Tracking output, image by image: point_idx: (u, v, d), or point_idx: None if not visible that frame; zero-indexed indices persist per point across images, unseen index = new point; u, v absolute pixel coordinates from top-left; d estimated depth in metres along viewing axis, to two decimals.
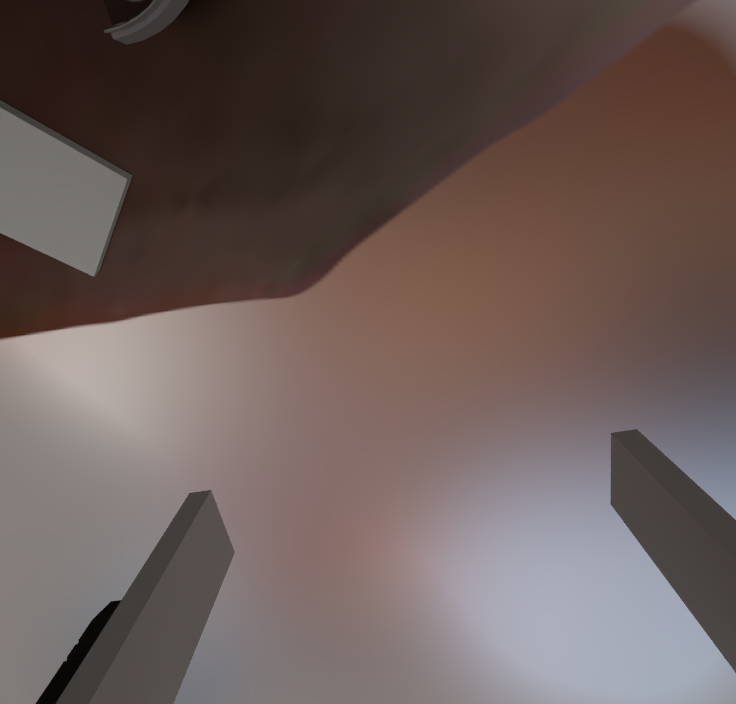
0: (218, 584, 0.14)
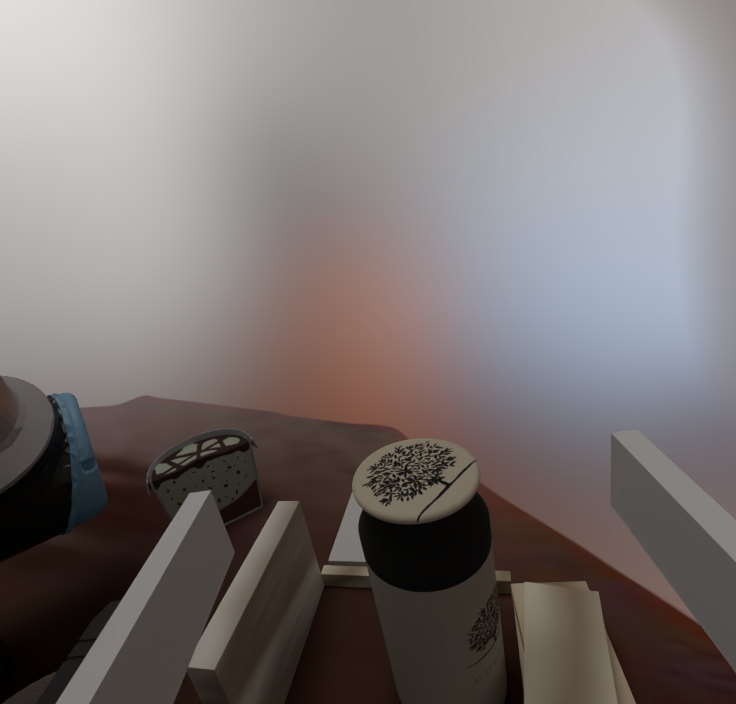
0: (218, 584, 0.14)
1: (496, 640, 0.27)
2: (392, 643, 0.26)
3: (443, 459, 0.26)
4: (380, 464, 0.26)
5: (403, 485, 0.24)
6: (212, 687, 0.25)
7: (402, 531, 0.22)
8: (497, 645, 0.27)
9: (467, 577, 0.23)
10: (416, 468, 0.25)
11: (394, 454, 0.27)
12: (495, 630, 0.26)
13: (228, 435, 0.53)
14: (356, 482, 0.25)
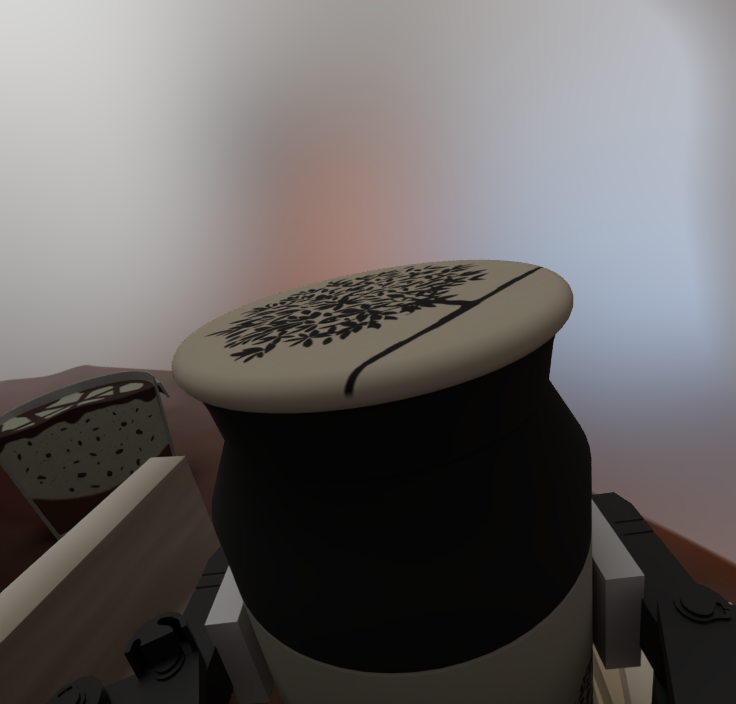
0: None
1: None
2: None
3: (451, 276, 0.09)
4: (281, 303, 0.10)
5: (324, 320, 0.08)
6: None
7: (301, 450, 0.06)
8: None
9: (539, 617, 0.07)
10: (373, 295, 0.09)
11: (323, 288, 0.11)
12: None
13: (131, 380, 0.36)
14: (197, 333, 0.09)
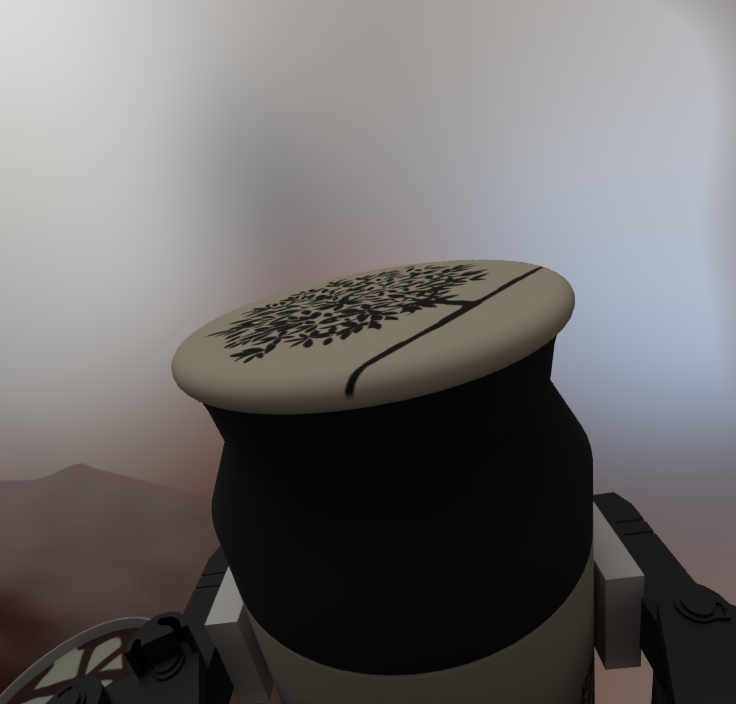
0: None
1: None
2: None
3: (451, 276, 0.09)
4: (281, 303, 0.10)
5: (325, 321, 0.08)
6: None
7: (301, 451, 0.06)
8: None
9: (540, 619, 0.07)
10: (373, 295, 0.09)
11: (323, 288, 0.11)
12: None
13: None
14: (197, 333, 0.09)
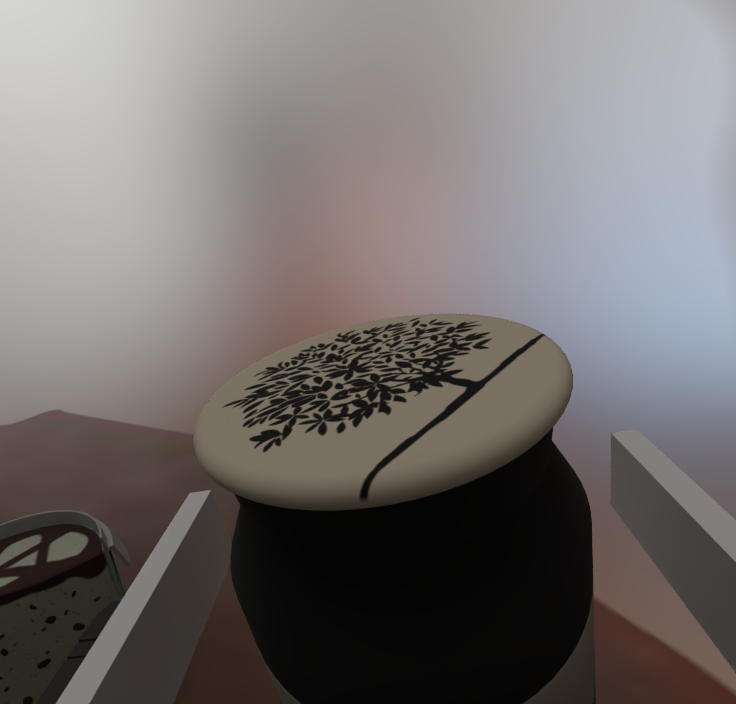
0: (218, 584, 0.14)
1: None
2: None
3: (456, 339, 0.10)
4: (292, 362, 0.10)
5: (336, 395, 0.08)
6: None
7: (318, 536, 0.06)
8: None
9: (542, 682, 0.07)
10: (381, 361, 0.09)
11: (333, 344, 0.11)
12: None
13: (71, 525, 0.23)
14: (214, 400, 0.09)
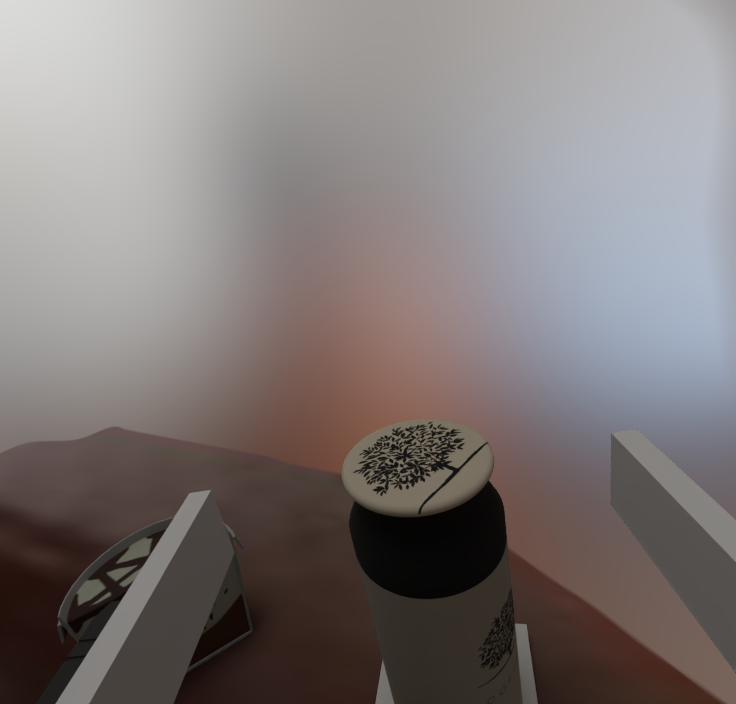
0: (218, 584, 0.14)
1: (511, 654, 0.23)
2: (389, 658, 0.23)
3: (449, 441, 0.22)
4: (375, 448, 0.22)
5: (402, 470, 0.20)
6: None
7: (400, 525, 0.19)
8: (512, 660, 0.23)
9: (479, 581, 0.19)
10: (417, 452, 0.21)
11: (391, 437, 0.23)
12: (510, 643, 0.22)
13: None
14: (346, 468, 0.21)
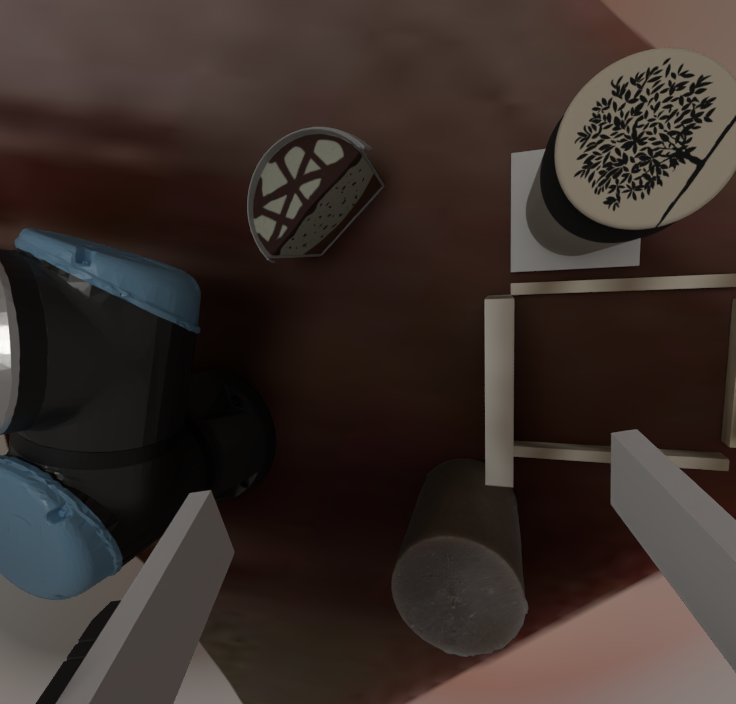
0: (218, 584, 0.14)
1: None
2: (552, 238, 0.30)
3: (695, 105, 0.18)
4: (593, 127, 0.19)
5: (633, 169, 0.19)
6: None
7: None
8: None
9: None
10: (651, 131, 0.19)
11: (612, 100, 0.19)
12: None
13: (314, 135, 0.33)
14: (564, 169, 0.20)
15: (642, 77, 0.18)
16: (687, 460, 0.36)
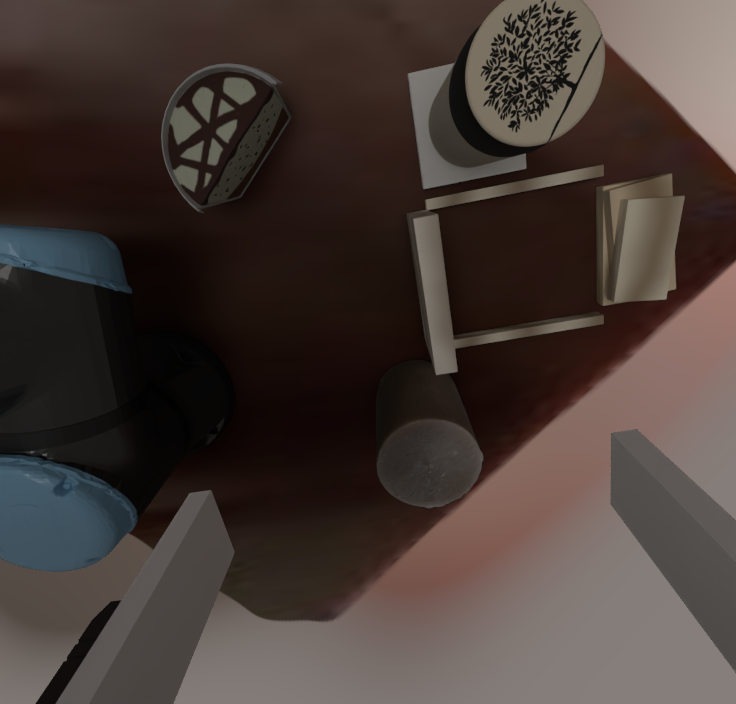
0: (218, 584, 0.14)
1: None
2: (460, 155, 0.34)
3: (566, 37, 0.23)
4: (493, 61, 0.23)
5: (527, 95, 0.24)
6: None
7: None
8: None
9: None
10: (537, 62, 0.23)
11: (506, 36, 0.23)
12: None
13: (220, 73, 0.32)
14: (475, 100, 0.24)
15: (526, 14, 0.22)
16: (575, 322, 0.46)
